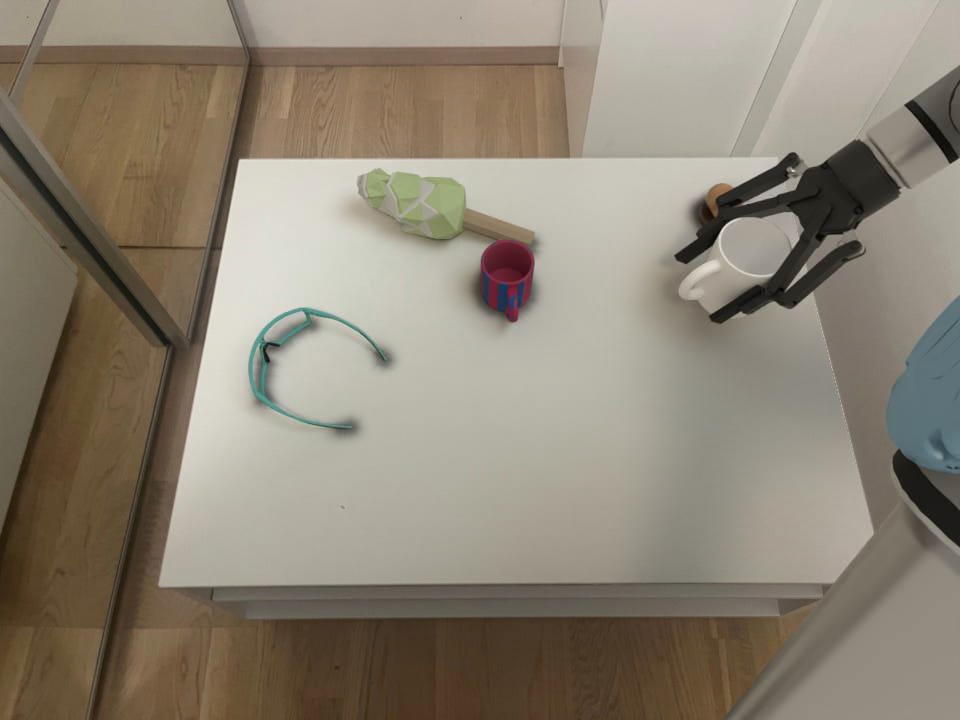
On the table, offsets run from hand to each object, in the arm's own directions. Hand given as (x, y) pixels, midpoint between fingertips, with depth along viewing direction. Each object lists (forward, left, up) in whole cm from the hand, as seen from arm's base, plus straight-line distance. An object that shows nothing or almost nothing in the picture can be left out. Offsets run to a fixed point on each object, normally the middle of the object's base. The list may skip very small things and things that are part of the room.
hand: (696, 289), depth 81 cm
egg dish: (+13, -12, -7) cm, 19 cm away
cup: (+10, +21, -7) cm, 24 cm away
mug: (0, -3, -4) cm, 5 cm away
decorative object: (+24, +24, -7) cm, 35 cm away
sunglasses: (+8, +47, -7) cm, 48 cm away
